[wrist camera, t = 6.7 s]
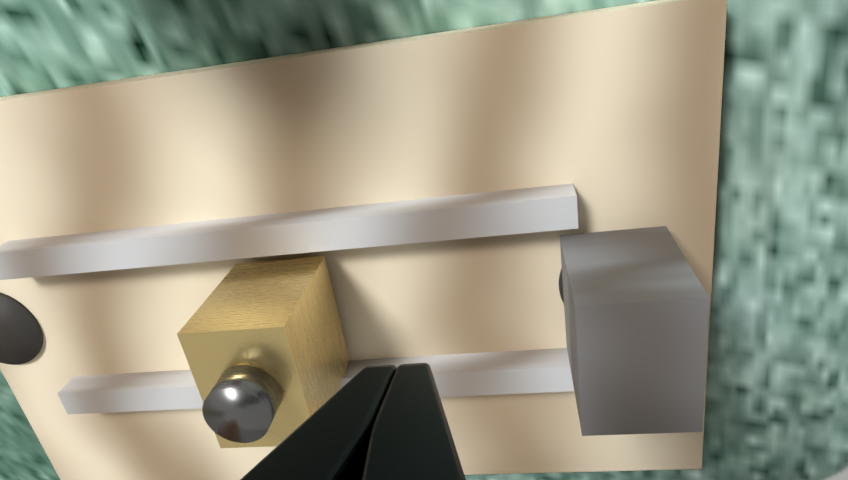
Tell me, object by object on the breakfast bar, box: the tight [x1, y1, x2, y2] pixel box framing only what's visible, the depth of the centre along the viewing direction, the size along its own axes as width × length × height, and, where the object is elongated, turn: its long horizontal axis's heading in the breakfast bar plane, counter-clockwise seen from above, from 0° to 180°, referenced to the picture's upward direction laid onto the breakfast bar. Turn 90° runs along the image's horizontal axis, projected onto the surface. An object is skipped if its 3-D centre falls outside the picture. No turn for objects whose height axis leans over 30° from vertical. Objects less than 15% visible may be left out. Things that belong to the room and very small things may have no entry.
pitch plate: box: [0, 0, 727, 480], centre depth 19 cm, size 27×16×6 cm, turn 99°
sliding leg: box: [177, 256, 350, 448], centre depth 18 cm, size 3×4×5 cm
